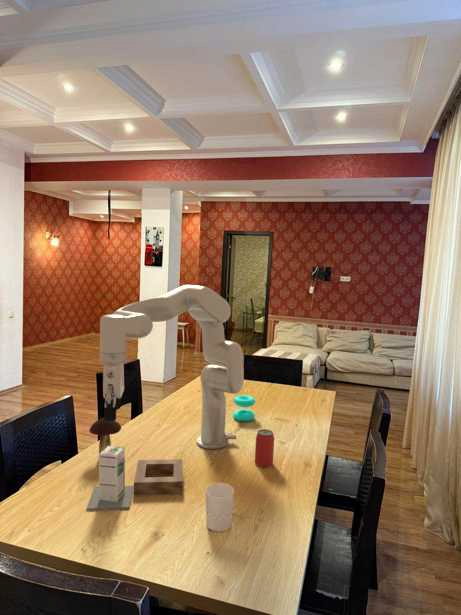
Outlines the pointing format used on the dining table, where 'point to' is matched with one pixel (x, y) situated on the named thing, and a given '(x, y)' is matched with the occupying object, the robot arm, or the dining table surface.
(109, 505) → the slate mat
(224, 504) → the white cup
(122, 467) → the syrup box
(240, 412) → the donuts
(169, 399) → the dining table surface
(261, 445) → the beer can
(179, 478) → the walnut pocket holder
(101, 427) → the decorative mushroom
